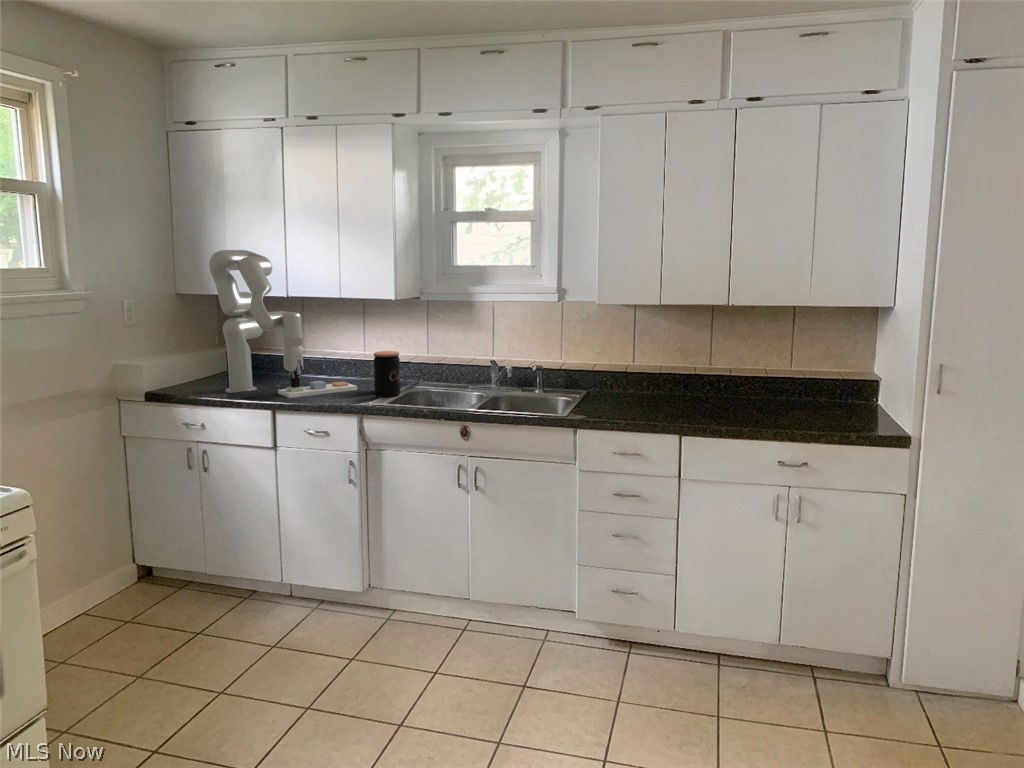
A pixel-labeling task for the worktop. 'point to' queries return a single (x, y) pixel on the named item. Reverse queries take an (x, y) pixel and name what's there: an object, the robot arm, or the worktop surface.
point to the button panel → (309, 391)
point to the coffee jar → (387, 373)
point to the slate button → (317, 385)
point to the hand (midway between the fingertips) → (295, 387)
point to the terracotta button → (339, 384)
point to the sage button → (294, 389)
